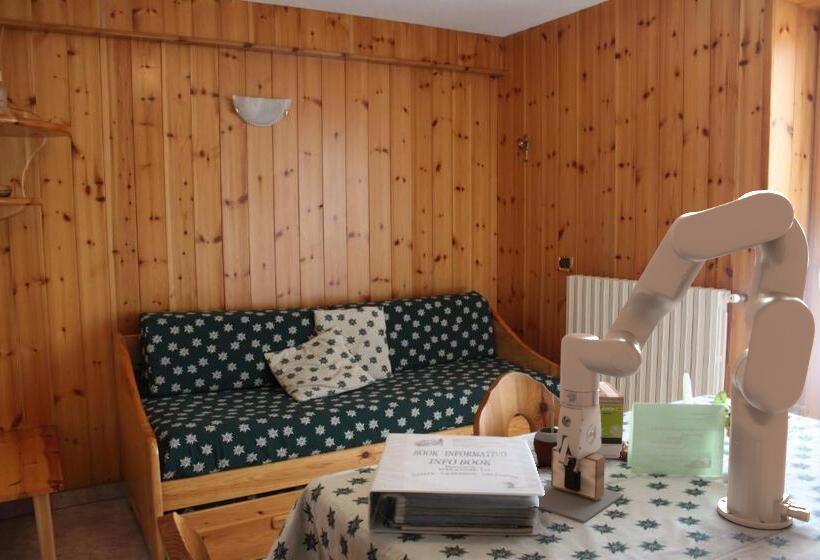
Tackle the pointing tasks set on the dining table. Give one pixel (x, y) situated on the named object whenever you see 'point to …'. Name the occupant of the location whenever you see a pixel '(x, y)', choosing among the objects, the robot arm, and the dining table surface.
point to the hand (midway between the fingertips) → (576, 486)
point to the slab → (589, 478)
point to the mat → (575, 503)
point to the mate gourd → (546, 442)
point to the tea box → (610, 421)
